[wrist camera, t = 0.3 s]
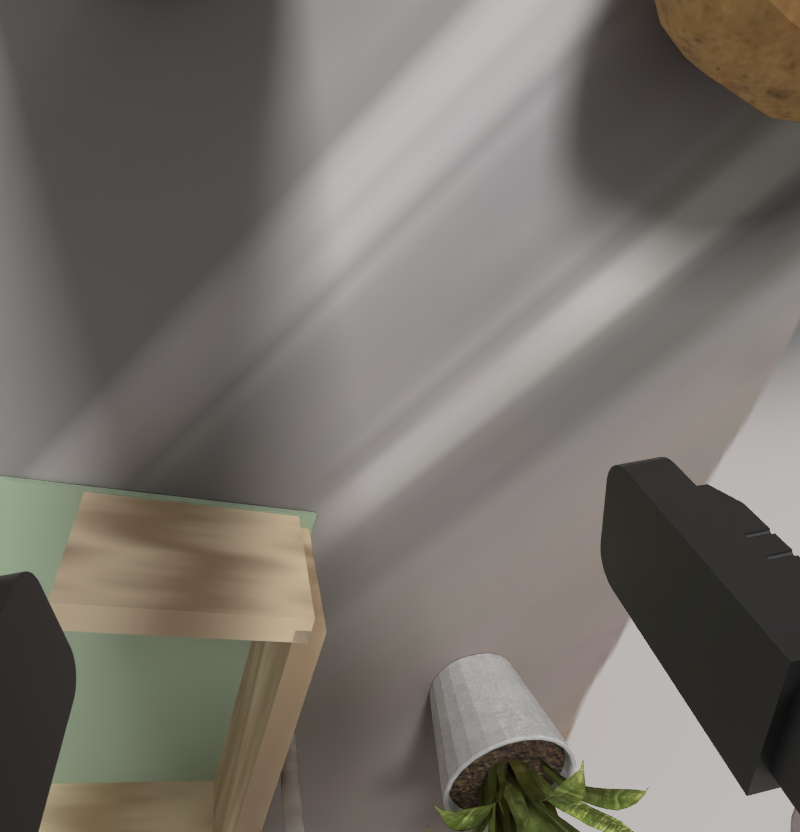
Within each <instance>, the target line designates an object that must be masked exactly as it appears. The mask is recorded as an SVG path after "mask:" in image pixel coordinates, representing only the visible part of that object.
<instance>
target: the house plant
mask: <svg viewBox="0 0 800 832" xmlns="http://www.w3.org/2000/svg"><path fill="white" fill-rule="evenodd" d="M430 704H431V712H432V720H433V728H434V736H435V744H436V751H437V759H438V767H439V775H440V783H441V791H442V799H443V805H444V807H445V810H441V809H440V808H438V807H436V806H435V805H433V806H434V807H435V808H436V809H437V810H438V812H439V813H440V815H441V817H442V819H443V821H444V823H445V824H446V826H447V827H449V828H451V829H453V830H457V831H465V830H470V829H472V828H473V832H483V831H484V830H485V829H488V832H579V831H578V830H577V829H575V828H574V827H573V826H571V825H570V824H569V823H567V822H566V821H565V820H563V819H562V818H560V817H559V816H558V814H557V811H556V808H555V807H557V808H558V809H560V810H562V811H563V812H566V813H567V814H569V815H571V816H573V817H575V818H577V819H578V820H580V821H582V822H583V823H585V824H587V825H589V826H591V827H594V828H596V829H598V830H601V831H603V832H633V831H632V830H631V829H630V828H629V827H627V826H626V825H625V824H624V823H622V822H621V821H619V820H617V819H616V818H614V817H612V816H609V815H607V814H605V813H602V812H600V811H598V810H596V809H594V808H592V807H590V806H588V805H587V804H585V803H583V802H586V803H589V804H592V805H594V806H598V807H601V808H605V809H611V810H620V809H624V808H628V807H630V806H632V805H634V804H636V803H637V802H638V801H639V800H640V799H641V798H642V797H643V796H644V795H645V793H646V791H647V790H646V791H640V790H629V789H602V788H593V787H587V786H585V778H584V765H583V762H582V765H581V768H580V770H579V771H577V772H576V773H575V774H574V772H575V767H576V762H575V756H574V753H573V751H572V750H571V748H570V747H569V746H568V744H567V743H566V741H565V740H564V739H563V737H562V736H561V734H560V733H559V732H558V730H557V729H556V727H555V726H554V725H553V723H552V722H551V720H550V719H549V717H548V716H547V715H546V713H545V712H544V710H543V709H542V708H541V706H540V705H539V703H538V702H537V701H536V699H535V698H534V696H533V695H532V694H531V692H530V691H529V689H528V688H527V687H526V685H525V684H524V682H523V681H522V680H521V678H520V677H519V675H518V674H517V673H516V671H515V670H514V668H513V667H512V666H511V664H510V663H509V662H508V660H506V659H505V658H503V657H501V656H499V655H496V654H492V653H487V654H477V655H472V656H467V657H464V658H461V659H457V660H456V661H454V662H452V663H451V664H449V665H447V666H446V667H445V668H444V669H443V670H442V671H441V672H440V673H439V674H438V675H437V676H436V678H435V679H434V681H433V683H432V685H431V688H430ZM647 789H648V788H647ZM582 801H583V802H582ZM426 826H427V825H426ZM427 830H428V832H431V831H430V830H429V828H428V827H427Z"/></svg>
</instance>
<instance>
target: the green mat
mask: <svg viewBox="0 0 800 832" xmlns="http://www.w3.org/2000/svg"><path fill="white" fill-rule="evenodd" d="M84 492H90V493H99V494H107V495H116V496H125V497H134V498H143V499H152V500H160V501H169V502H178V503H187V504H196V505H204V506H213V507H222V508H231V509H240V510H248V511H257V512H266V513H275V514H284V515H292V516H299V519H300V526H301V528H309V532H310V537H311V534H312V531H313V527H314V524H315V520H316V517H317V516H316V513H315V512H307V511H298V510H289V509H281V508H272V507H264V506H255V505H246V504H238V503H229V502H221V501H212V500H203V499H195V498H186V497H178V496H169V495H160V494H152V493H143V492H135V491H126V490H117V489H109V488H100V487H92V486H83V485H74V484H66V483H57V482H49V481H40V480H31V479H23V478H14V477H6V476H0V576H2V575H8V574H13V573H19V572H24V571H29V572H31V573H32V574H34V575H35V576H36V578H37V579H38V581H39V582H40V584H41V586H42V589H43V591H44V593H45V595H46V597H47V599H48V598H49V595H50V592H51V589H52V586H53V583H54V580H55V577H56V574H57V571H58V568H59V565H60V562H61V559H62V556H63V553H64V550H65V547H66V544H67V541H68V538H69V535H70V532H71V529H72V526H73V523H74V520H75V517H76V514H77V511H78V508H79V505H80V502H81V499H82V496H83V493H84ZM63 632H64V634H65V636H66V639H67V641H68V643H69V645H70V647H71V649H72V652H73V655H74V660H75V666H76V691H75V697H74V701H73V705H72V709H71V712H70V716H69V720H68V723H67V727H66V731H65V735H64V738H63V742H62V746H61V750H60V753H59V757H58V761H57V765H56V768H55V772H54V776H53V780H52V783H51V784H60V783H117V782H174V781H214V779H215V775H216V772H217V768H218V764H219V761H220V757H221V753H222V750H223V746H224V742H225V738H226V735H227V731H228V727H229V724H230V720H231V716H232V713H233V709H234V705H235V701H236V698H237V694H238V690H239V687H240V683H241V679H242V676H243V672H244V668H245V664H246V661H247V657H248V653H249V650H250V646H251V642H252V640H232V639H212V638H193V637H173V636H153V635H133V634H113V633H93V632H74V631H63Z"/></svg>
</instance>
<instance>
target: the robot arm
mask: <svg viewBox="0 0 800 832" xmlns="http://www.w3.org/2000/svg"><path fill="white" fill-rule="evenodd" d="M601 559H602V564H603V568H604V571H605V574H606V577H607V580H608V582H609V584H610V586H611V588H612V589H613V591H614V592H615V594H616V596H617V597H618V599H619V600H620V602H621V603H622V605H623V606H624V608H625V609H626V611H627V612H628V614H629V615H630V617H631V619H632V620H633V622H634V623H635V625H636V626H637V628H638V629H639V631H640V632H641V634H642V635H643V637H644V639H645V640H646V642H647V643H648V645H649V646H650V648H651V649H652V651H653V652H654V654H655V655H656V657H657V658H658V660H659V661H660V663H661V664H662V666H663V668H664V669H665V671H666V672H667V674H668V675H669V677H670V678H671V680H672V682H673V683H674V684H675V686H676V688H677V689H678V691H679V692H680V694H681V695H682V697H683V698H684V700H685V701H686V703H687V705H688V706H689V708H690V709H691V711H692V712H693V714H694V715H695V717H696V718H697V720H698V721H699V723H700V724H701V726H702V728H703V729H704V731H705V732H706V734H707V735H708V737H709V738H710V740H711V741H712V743H713V745H714V746H715V747H716V749H717V751H718V752H719V753H720V755H721V757H722V758H723V760H724V761H725V763H726V764H727V766H728V768H729V769H730V771H731V772H732V774H733V775H734V777H735V778H736V780H737V781H738V783H739V784H740V786H741V788H742V789H743V790H744V792H745V794H746V795H747V796H748V795H752V794H756V793H760V792H763V791H767V790H771V789H775V788H779V787H781V788H782V790H783V791H784V793H785V794H786V795H787V797H788V798H789V800H790V801H791V803H792V804H793V805H794V807H795V809H794V811H793V814H792V819H791V832H800V557H799V556H794V555H793V553H792V549H791V548H790V547H789V546H787V545H786V544H785V543H784V542H783V541H782V540H781V539H780V538H779V537H778V536H777V535H776V534H771V533H770V529H769V528H768V526H766V525H765V524H764V523H763V522H762V521H761V520H760V519H759V518H758V517H757V516H756V515H755V514H754V513H753V512H752V511H751V510H750V509H749V508H748V507H747V506H745V505H744V504H743V503H742V502H740V501H738V500H736V499H734V498H732V497H730V496H728V495H727V494H725V493H723V492H721V491H719V490H717V489H715V488H713V487H712V486H710V485H708V484H706V485H701V486H696V485H695V484H694V483H693V482H692V481H691V480H690V479H689V478H688V477H687V476H686V475H685V474H684V473H683V472H682V471H681V470H680V469H679V468H678V467H677V466H676V465H675V464H674V463H673V462H672V461H671V460H670V459H668V458H666V457H658V458H653V459H647V460H642V461H636V462H631V463H625V464H620V465H615V466H613V467H612V468H611V469H610V471H609V473H608V477H607V485H606V495H605V505H604V515H603V525H602V535H601ZM75 691H76V666H75V660H74V655H73V652H72V649H71V647H70V645H69V643H68V641H67V639H66V636H65V634H64V632H63V630H62V628H61V626H60V624H59V622H58V620H57V618H56V616H55V614H54V611H53V609H52V607H51V605H50V603H49V601H48V599H47V597H46V595H45V593H44V591H43V589H42V586H41V584H40V582H39V581H38V579H37V578H36V576H35V575H34V574H32V573H31V572H29V571H24V572H19V573H13V574H8V575H2V576H0V832H39V828H40V825H41V821H42V817H43V813H44V810H45V806H46V802H47V798H48V795H49V791H50V787H51V783H52V780H53V776H54V772H55V768H56V765H57V761H58V757H59V753H60V750H61V746H62V742H63V738H64V735H65V731H66V727H67V723H68V720H69V716H70V712H71V709H72V705H73V701H74V697H75Z"/></svg>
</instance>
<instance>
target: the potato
mask: <svg viewBox="0 0 800 832" xmlns="http://www.w3.org/2000/svg"><path fill="white" fill-rule="evenodd" d="M655 4H656V8H657V12H658V16H659V20H660V24H661V26H662V27H663V28H664V30H665V31H666V33H667V34H668V35H669V37H670V38H671V39H672V41H673V42H674V43H675V45H676V46H677V47H678V49H679V50H680V51H681V53H682V54H683V55H684V57H685V58H686V59H687V60H689V61H690V62H691V63H692V64H694V65H695V66H696V67H697V68H699V69H700V70H701V71H702V72H703V73H705V74H706V75H708V76H709V77H711V78H712V79H714V80H715V81H716V82H718V83H719V84H721V85H722V86H724V87H725V88H727V89H728V90H730V91H731V92H732V93H734V94H735V95H737V96H738V97H740V98H741V99H743V100H744V101H746V102H747V103H748V104H750V105H752V106H753V107H755V108H756V109H758V110H759V111H761V112H762V113H764V114H765V115H767V116H768V117H770V118H776V119H783V120H789V121H796V122H800V0H655Z"/></svg>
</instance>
